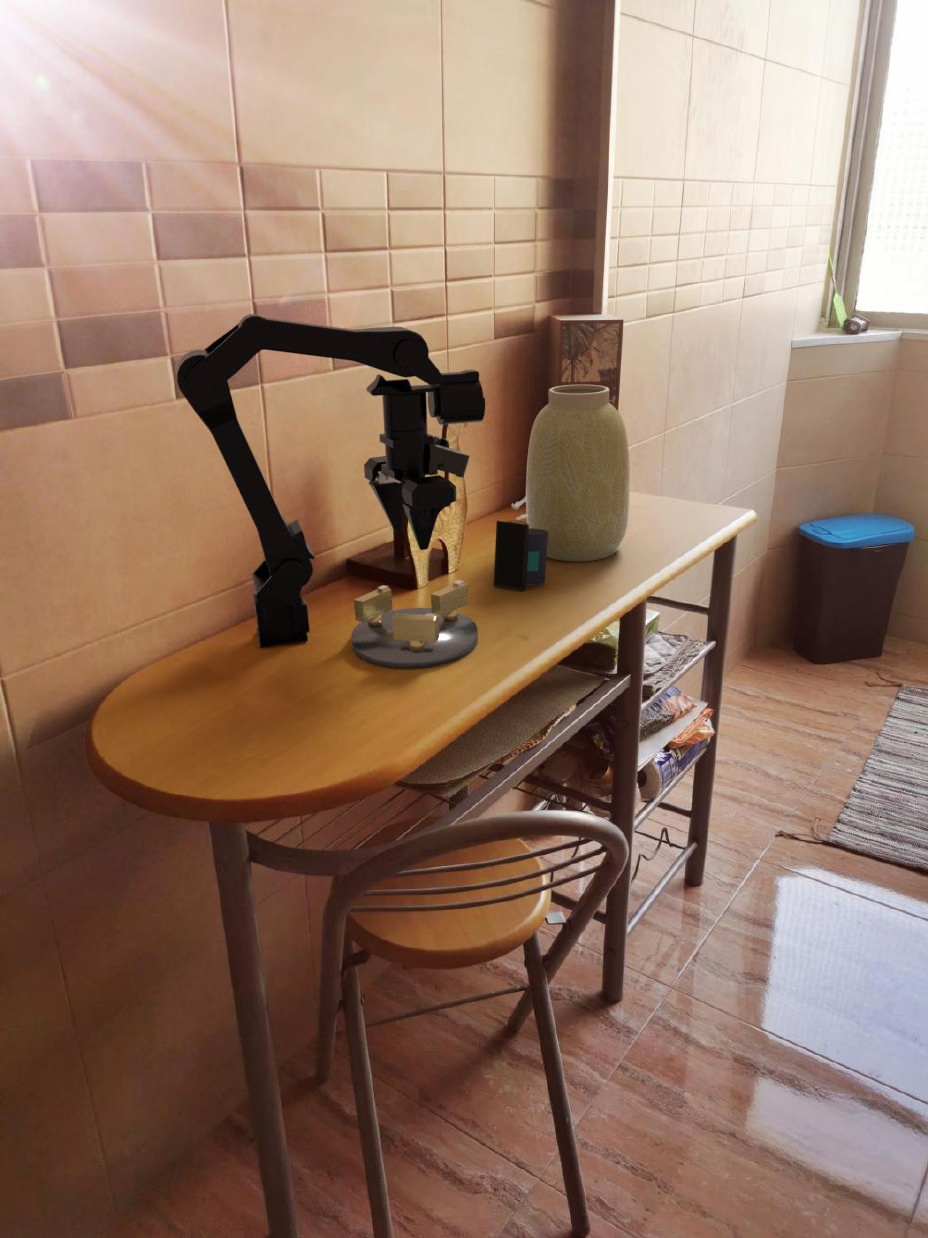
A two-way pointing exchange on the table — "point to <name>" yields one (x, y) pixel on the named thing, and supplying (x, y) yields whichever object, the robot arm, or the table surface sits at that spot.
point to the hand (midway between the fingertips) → (410, 540)
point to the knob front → (416, 629)
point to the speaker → (519, 556)
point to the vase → (579, 474)
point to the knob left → (373, 606)
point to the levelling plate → (395, 654)
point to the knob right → (449, 601)
